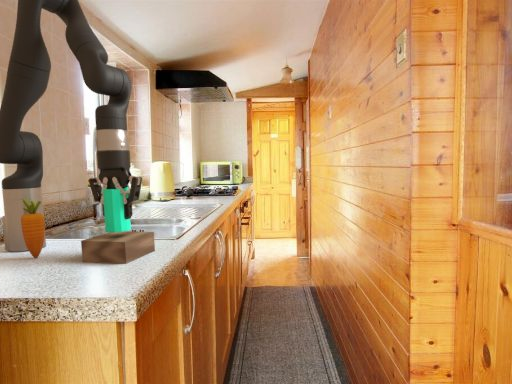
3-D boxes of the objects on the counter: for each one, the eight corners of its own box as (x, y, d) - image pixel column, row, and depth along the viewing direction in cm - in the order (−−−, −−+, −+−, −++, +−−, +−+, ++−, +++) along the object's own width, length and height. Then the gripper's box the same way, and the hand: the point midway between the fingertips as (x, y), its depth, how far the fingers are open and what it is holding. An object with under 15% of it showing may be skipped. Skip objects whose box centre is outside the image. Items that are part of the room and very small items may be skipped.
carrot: (52, 256, 89) (47, 197, 88) (34, 261, 84) (28, 199, 83) (37, 255, 90) (32, 197, 89) (19, 260, 86) (13, 199, 84)
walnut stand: (82, 261, 82) (81, 240, 82) (115, 249, 94) (114, 231, 93) (126, 263, 79) (124, 241, 79) (154, 250, 90) (153, 231, 90)
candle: (134, 227, 89) (131, 180, 88) (127, 231, 83) (124, 181, 82) (110, 228, 89) (106, 181, 88) (101, 233, 83) (98, 182, 82)
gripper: (147, 148, 86) (151, 216, 87) (99, 151, 90) (103, 216, 91) (129, 147, 79) (133, 221, 80) (77, 150, 83) (82, 221, 84)
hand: (117, 218), depth 86 cm, fingers closed on candle, 4 cm apart
